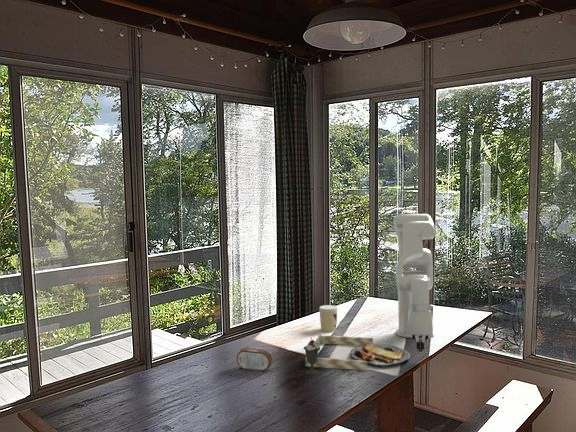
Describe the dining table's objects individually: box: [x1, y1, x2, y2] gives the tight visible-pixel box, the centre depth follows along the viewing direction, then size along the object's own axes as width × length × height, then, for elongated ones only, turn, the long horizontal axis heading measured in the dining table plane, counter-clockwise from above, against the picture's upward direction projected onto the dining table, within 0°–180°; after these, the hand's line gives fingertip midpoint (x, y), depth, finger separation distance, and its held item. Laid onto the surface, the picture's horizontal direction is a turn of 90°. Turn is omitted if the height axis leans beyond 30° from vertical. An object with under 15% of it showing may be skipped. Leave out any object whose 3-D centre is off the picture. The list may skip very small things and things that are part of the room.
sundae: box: [303, 337, 321, 376], centre depth 193 cm, size 7×7×15 cm
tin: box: [236, 347, 273, 372], centre depth 199 cm, size 15×3×8 cm, turn 71°
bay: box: [304, 334, 374, 371], centre depth 213 cm, size 25×31×4 cm
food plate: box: [349, 343, 411, 367], centre depth 209 cm, size 25×23×4 cm
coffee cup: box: [318, 304, 338, 333], centre depth 250 cm, size 9×9×12 cm
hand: (420, 350), depth 204 cm, fingers closed
